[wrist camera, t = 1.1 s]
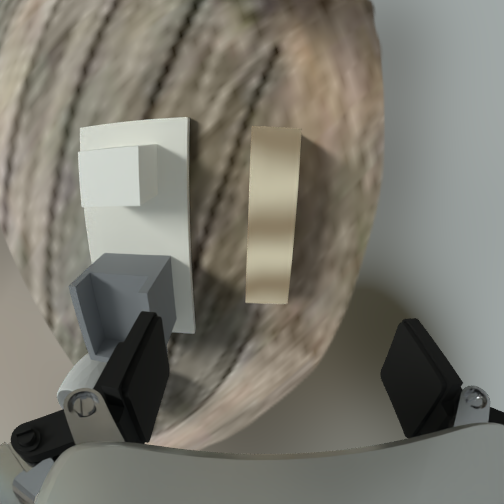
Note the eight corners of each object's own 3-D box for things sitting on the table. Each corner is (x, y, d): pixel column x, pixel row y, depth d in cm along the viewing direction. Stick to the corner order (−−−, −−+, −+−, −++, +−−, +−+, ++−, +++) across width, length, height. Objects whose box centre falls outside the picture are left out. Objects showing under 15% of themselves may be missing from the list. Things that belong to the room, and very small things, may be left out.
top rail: (252, 128, 27) (251, 125, 22) (293, 130, 27) (301, 128, 22) (246, 279, 33) (245, 302, 28) (282, 280, 33) (287, 303, 28)
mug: (100, 384, 40) (78, 429, 31) (75, 341, 37) (44, 386, 27) (169, 385, 39) (154, 438, 30) (147, 338, 36) (123, 393, 27)
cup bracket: (84, 128, 26) (33, 130, 18) (189, 117, 26) (162, 110, 18) (108, 320, 35) (79, 364, 27) (195, 328, 35) (182, 381, 27)
